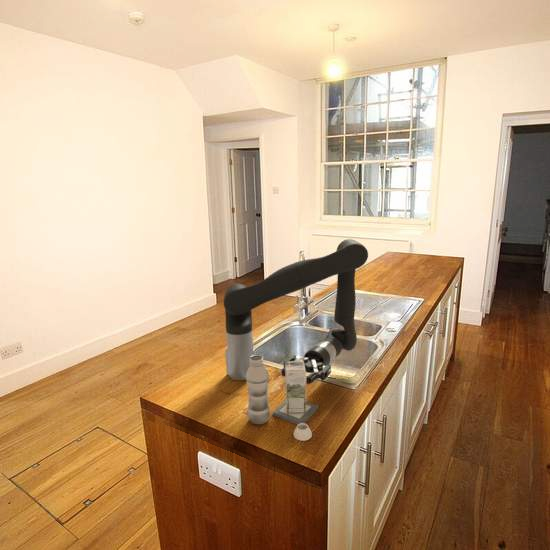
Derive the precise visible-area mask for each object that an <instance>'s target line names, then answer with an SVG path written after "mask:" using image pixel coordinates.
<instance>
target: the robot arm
mask: <svg viewBox="0 0 550 550" xmlns="http://www.w3.org/2000/svg"><path fill="white" fill-rule="evenodd" d="M368 257H369V251H368V249H367V247H366V246H364V244H362V243H360V242H359V241H356V240H355V239H351V238H348V239H344V240H343V241H341V242H340V243H339V244H338V246H337V248H336V251H334V252H331V253H330V254H327V255H325V256H321V257H316V258H314V257H313V258H308V259H303V260H298V261H296V262H293V263H290V264H289V265H285V266H283V267H281V268H279V269H278V270H276V271H274V272H273V273H271V274H270V275H269V276H267V277H266V278H264V279H262V280H261V281H259V282H257V283H253V284H251V285H248V286H246V285H244V284H241V283H234V284H231V285H230V286H228V287H227V288H226V290H225V292H224V296H223V307H224V310H225V312H224V313H225V334H226V335H225V336H226V350H225V351H224V352H225V354H224V355H225V367H226V375H227V376H229V379H231V380H234V381H247V380H246V373H247V371H248V369H249V368H250V366H251V365H250V357H251V356H254V355H255V354H254V338H253V336H254V335H253V318H252V317H253V316H252V313H253V312H252V310H254V309H256V308H258V307H260V306H261V305H263V304H265V303H268V302H270V301H273V300H276V299H279V298H281V297H284V296H287V295H289V294H292V293H295V292H298V291H301V290H302V289H303V290H304V289H305V288H307V287H309V286H312V285H314V284H317V283H319V282H322V281H324V280H326V279H328V278H330V277H333V276H336V275H337V281H336V282H337V283H336V284H337V285H336V297H335V305H334V315H333V317H334V318H333V319H334V322H335V323H336V324H338V325H339V326H341V327H342V328H340V327H337V326H336V327H331V328H330V329H329V331H328V332H327V334H326V337H325V338H324V339H323V340H322V341H321V342H319V343H317V344H315V345H314V346H313V347H311V348H310V349H309V350H307V352H306V353H305V354H304V356H303V357H299V358H298V357H297V355H295V354H294V355H291V356H290V357H288V358H287V359H284V361H283V368H282V369H281V376H282V377H284V378H285V362H286V361H304V365H305V370H306V373H307V374H308V373H309V374H308V376H307V377H306V384H307V385H310V384H313V383H314V382H315V381H316V380H321V381H325V380H326V379H327V378H328V377H329V375H330V374H331V373H332V362H333V361H334V360H335V359H336V358H337V357H338V356H339V355H340V354H341V352H342V350H344V351H348V352H349V351H353V350H354V349H355V348H356V345H357V340H358V339H357V332H356V327H355V313H356V303H357V302H356V298H357V297H356V287H355V283H356V282H355V278H356V270H357V269H359V268H361V267H362V266H363V265H365V264H366V263H367V262H368V261H367V260H368Z"/></svg>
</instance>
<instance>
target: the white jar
mask: <svg viewBox="0 0 550 550" xmlns="http://www.w3.org/2000/svg"><path fill="white" fill-rule="evenodd" d="M296 425H297V424H296ZM312 436H313V432H312V430H311V428H310V426H309V425H308V424H307V423H306V422H305V423H300V424H298V425H297V426H295V428H294V431H293V437H294V438H295V439H296V440H297V441H302V442H303V441H304V442H305V441H309V440H310V439H312Z"/></svg>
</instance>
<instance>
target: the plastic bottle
mask: <svg viewBox="0 0 550 550" xmlns="http://www.w3.org/2000/svg"><path fill="white" fill-rule="evenodd" d="M253 355H254V356H251V357H250V365H251V366H250V368H249V369H248V371H247V373H246V380H245V381H246V385H247V389H248V390H247V391H248V405H247V412H246V413H247V419H248V420H249V422H250V423H251V424H254V425H263V424H265V423H267V422H268V420H269V419H270V416H271V409H270V404H269V399H268V398H269V397H268V389H269V380H270V379H269V378H270V374H269V371H268V369H267V368H266V367H265V366H264V364H265V363H264V357H263V356H262V355H259V354H256V355H255V354H253Z"/></svg>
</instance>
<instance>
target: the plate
mask: <svg viewBox="0 0 550 550" xmlns="http://www.w3.org/2000/svg"><path fill="white" fill-rule="evenodd" d="M318 409H319V405H318V404H315V403H311V402H308V401H306V413H290V414H287V408H286V400H284V401H283V402H282V403H281V404H280V405H279V406H277V408H275V409H274V410H273V411H272V416H273V417H277V418H279V419H281V420H285V421H287V422H289V423H291V424H295V425H298V424H300V423H305V424H306V422H307V421H308V420H309V419H310V418H311V417H312V416H313V415H314V414H315V413H316V412H317V410H318Z"/></svg>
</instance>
